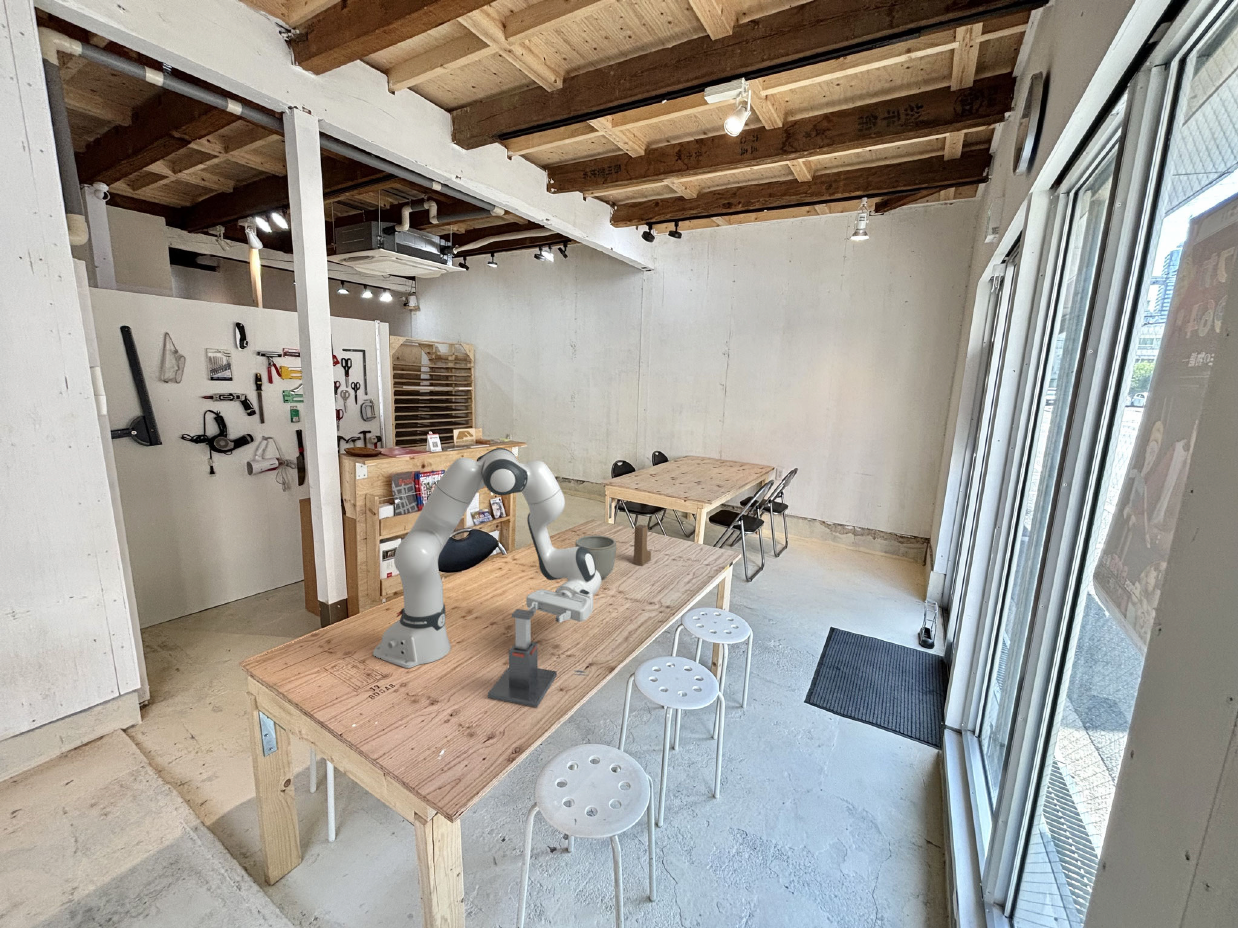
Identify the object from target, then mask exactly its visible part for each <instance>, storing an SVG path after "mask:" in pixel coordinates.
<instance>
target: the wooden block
mask: <svg viewBox="0 0 1238 928" xmlns="http://www.w3.org/2000/svg"><path fill="white" fill-rule="evenodd" d="M648 528H649V527H648V525H645V524H644V525H643V524H638V525H635V526H634V541H633V549H634V550H633V565H637V566H641V567H643V566H644V565H646V564H647V563H648V562H650V561H651V560H652V557H651V556H652V551H651V550H648Z"/></svg>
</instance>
